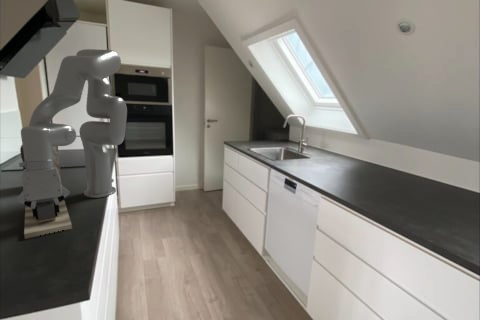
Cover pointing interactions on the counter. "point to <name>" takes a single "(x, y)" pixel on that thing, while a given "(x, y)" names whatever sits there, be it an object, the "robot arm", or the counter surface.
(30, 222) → the birch board
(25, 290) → the counter surface
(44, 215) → the sanding sponge
